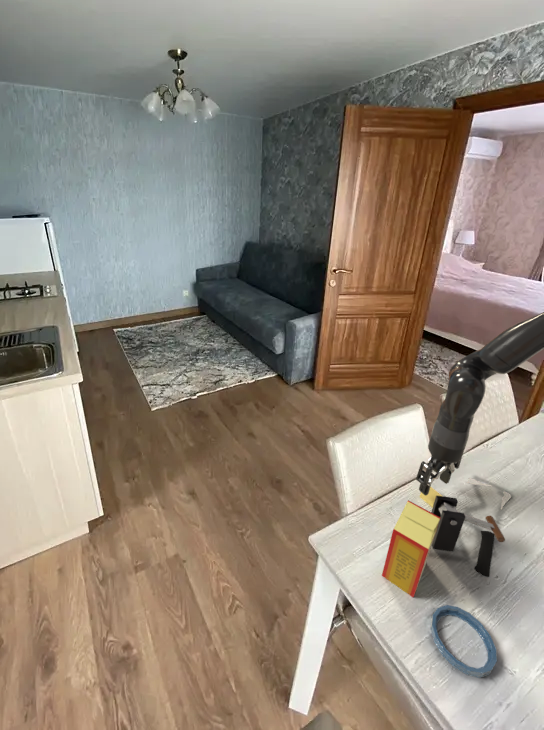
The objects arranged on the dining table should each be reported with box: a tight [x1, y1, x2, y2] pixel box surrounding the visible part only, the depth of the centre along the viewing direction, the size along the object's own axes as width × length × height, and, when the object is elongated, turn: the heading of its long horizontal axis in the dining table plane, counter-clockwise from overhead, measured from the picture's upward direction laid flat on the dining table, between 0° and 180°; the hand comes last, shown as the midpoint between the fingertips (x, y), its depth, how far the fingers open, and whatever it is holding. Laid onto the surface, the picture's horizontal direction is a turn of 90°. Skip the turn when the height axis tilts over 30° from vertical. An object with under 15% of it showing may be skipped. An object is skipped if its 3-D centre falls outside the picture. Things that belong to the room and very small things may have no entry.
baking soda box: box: [381, 500, 440, 598], centre depth 74 cm, size 10×6×16 cm
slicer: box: [430, 495, 465, 553], centre depth 81 cm, size 10×8×13 cm
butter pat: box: [419, 486, 443, 509], centre depth 93 cm, size 4×4×3 cm
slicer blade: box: [439, 502, 506, 543], centre depth 79 cm, size 13×6×2 cm, turn 80°
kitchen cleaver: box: [466, 477, 512, 578], centre depth 88 cm, size 31×2×10 cm
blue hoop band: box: [429, 604, 498, 679], centre depth 64 cm, size 10×10×3 cm
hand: (433, 486), depth 92 cm, fingers open, 8 cm apart
